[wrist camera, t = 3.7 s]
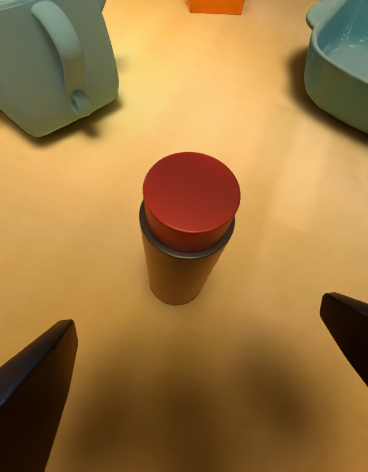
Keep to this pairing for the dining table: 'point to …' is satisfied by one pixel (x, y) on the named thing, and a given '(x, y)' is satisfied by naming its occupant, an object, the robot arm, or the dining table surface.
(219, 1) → the orange juice
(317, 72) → the casserole dish
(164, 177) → the pepper grinder
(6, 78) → the teapot
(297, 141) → the dining table surface
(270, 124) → the dining table surface
